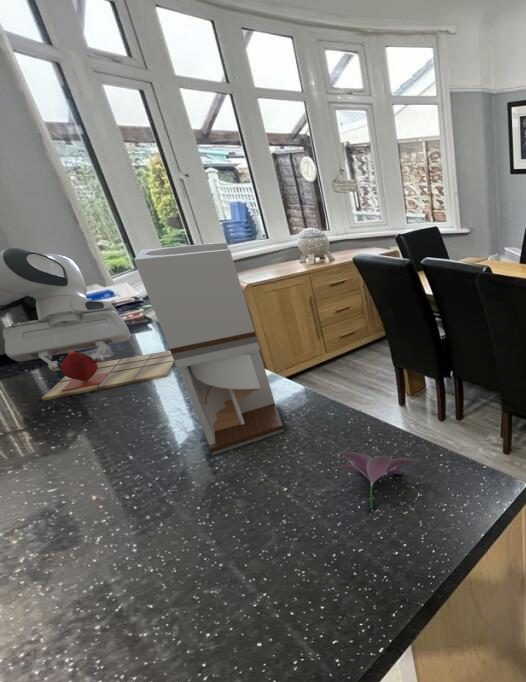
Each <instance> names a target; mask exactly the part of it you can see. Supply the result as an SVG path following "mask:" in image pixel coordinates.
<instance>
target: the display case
mask: <svg viewBox="0 0 526 682" xmlns="http://www.w3.org/2000/svg"><path fill="white" fill-rule="evenodd" d="M133 261H134V264H135V267H136V269H137V271H138V274H139V277H140V279H141V281H142V284H143V287H144V289H145V292H146V294H147V296H148V299H149V302H150V304H151V306H152V309H153V312H154V314H155V316H156V319H157V322H158V324H159V326H160V329H161V332H162V334H163V337H164V339H165V341H166V344H167V347H168V349H169V351H170V352H171V354H172V357H173V359H174V365H175V367H176V369H178V371H179V374H180V376H181V378H182V381H183V383H184V387H185V388H186V391H187V394H188V396H189V398H190V401H191V403H192V406H193V409H194V411H195V414H196V417H197V418H198V421H199V423H200V426H201V429H202V431H203V434H204V437H205V438H206V441H207V444H208V447H209V448H208V449H209V452H210V454H211V456H215V455H218V454H222V453H225V452H227V451H230V450H232V449H233V450H234V449H236V448H239V447H242V446H245V445H249V444H251V443H254V442H257V441H260V440H263V439H266V438H270V437H272V436H276V435H278V434H281V433H284V432H285V428H284V425H283V422H282V420H281V416H280V414H279V411H278V408H277V404H276V401H275V399H274V395H273V391H272V389H271V388H272V387H271V386H270V385H271V384H270V383H269V382H270V381H269V379H268V375H267V371H266V369H265V366H264V362H263V359H262V356H261V352H260V350H261V348H260V345H259V342H258V338H257V335H256V331H255V328H254V325H253V322H252V318H251V315H250V311H249V308H248V306H247V302H246V298H245V295H244V292H243V288H242V285H241V281H240V278H239V275H238V272H237V269H236V265H235V261H234V259H233V255H232V251H231V249H230V248H229V246H228V242H227V241H223V242H222V241H221V242H211V243H201V244H190V245H189V244H188V245H177V246H167V247H156V248H145V249H141V250H140V251H139V252H138V253H137V255H136V256H135V257H134V259H133Z"/></svg>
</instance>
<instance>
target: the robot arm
mask: <svg viewBox="0 0 526 682" xmlns="http://www.w3.org/2000/svg"><path fill="white" fill-rule="evenodd" d="M87 292H88V289H87V286H86V281H85V279H84V276H83V273H82V272H81V270H80V268H79V266H78V265H77V264H76V262H74V261H73V260H72V259H71V258H69V257H67V256H64V255H61V254H56V253H43V254H42V253H39V252H37V251H33V250H30V249H26V248H21V247H10V248H7V249H4V250H1V251H0V310H1V309H3V308H5V307H7V306H9V305H11V304H12V303H14V302H16V301H18V300H20V299H23V298H25V297H31V298H34V299H35V307H36V308H35V309H36V313H37V319H34V320H28V321H24V322H17V323H16V322H15V323H12V324H10V325H9V326H7V327H5V328H3V330H2V337H3V338H2V339H3V340H4V353H5V354H6V356H7V357H8V358H10V359H11V360H13V361H16V362H19V363H20V362H26V361H31V360H37V359H41V360H42V361H43V362H45V363H46V364H47V366H48V369H49V370H50V372H58V371H61V363H60V362H59V361H58V360H53V356H57V355H63V354H68V353H67V352H68V351H73V352H78V351H83V350H89V349H92V348H96V349H97V350H96V351H95V352H92V353H91V354H90V357H91V358H92V359H93V361H94V362H97V363H101V362H105V360H104V354H105V353H106V351H107V350H108V345H114V344H119V343H123V342H128V341H129V340H130V339H131V338H132V335H131V332H130V331H131V330H130V329H129V327H128V325H127V324H126V322H125V320H124V319H123V318H122V317H121V315H120V313H119V312H118V310H117V309H116V307H115V306H114V305H113V304H112V303H111V302H109V301H106V300H89V298H87Z"/></svg>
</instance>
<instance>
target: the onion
mask: <svg viewBox="0 0 526 682" xmlns="http://www.w3.org/2000/svg"><path fill="white" fill-rule="evenodd" d="M66 354H67V356H65V357H64V359H63V360H62V362H61V363H60V364H61V370H60V372H61V373H62V375H64V377H65V376H67V377H68V378H71V379H76V380H80V381H88V380H89V379H90V378H91V377H92V376H93V375H94V374H95V373H96V371H97V369H98V364H97V363H98V362H94V361H93V359H92V356H91V355H88V354H85V353H81V352H78V351H68V352H67V353H66Z"/></svg>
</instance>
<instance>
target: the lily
mask: <svg viewBox="0 0 526 682" xmlns="http://www.w3.org/2000/svg"><path fill="white" fill-rule="evenodd" d="M336 453H338V454H339V455H340V456H342V457H344V458H345V459H346V460H347V461H348V462H349V464H348V463H346V464H341V465H337V466H333V467H331V470H352V471H353V470H354V471H357V472H359V473H361V474H362V475H363V476H364V477H365V478H366V479H368V481H369V483H370V487H369V488H370V489H369V500H370V503H369V504H370V509H373V508H374V504H373V487H374V484H375V482H376V481H378V480H379V479H380V478H381V477H383V476H384V475H387V474H392V475H393V474H394V475H404V472H402V471H401V470H400V469H398V467H401V466H404V465H407V464H414V463H420V462H422V461H421V460H420V459H415V458H407V457H398V458H391V457H390V455H374V456H373V457H371V456H369V455H367V454H364V453H360V452H354V451H342V450H341V451H337V452H336Z"/></svg>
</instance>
